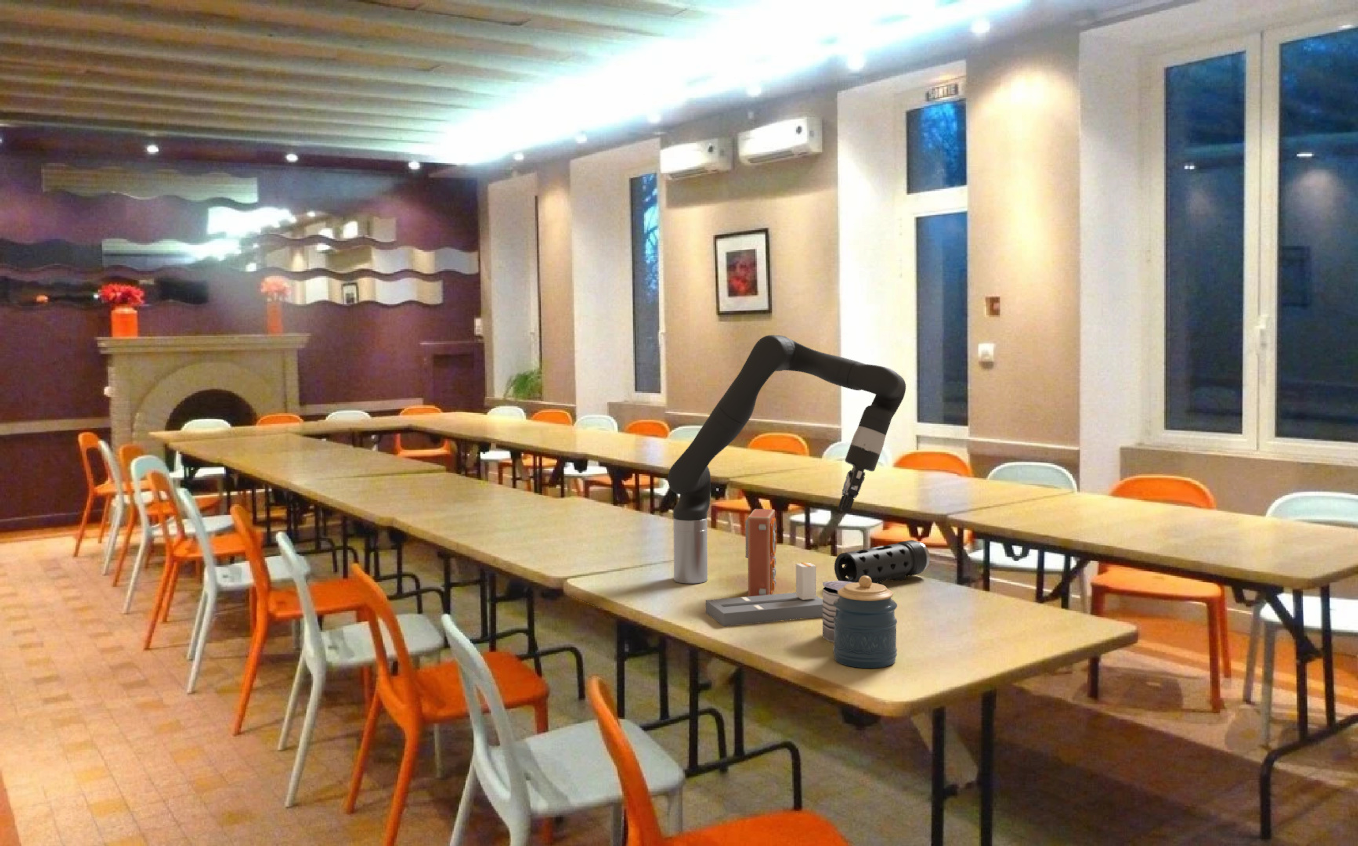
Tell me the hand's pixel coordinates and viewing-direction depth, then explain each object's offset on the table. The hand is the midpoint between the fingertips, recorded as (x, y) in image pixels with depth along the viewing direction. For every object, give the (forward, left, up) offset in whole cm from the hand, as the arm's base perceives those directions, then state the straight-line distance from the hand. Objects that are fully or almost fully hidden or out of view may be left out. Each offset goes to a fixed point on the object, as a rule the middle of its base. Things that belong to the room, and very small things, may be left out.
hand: (843, 511), depth 263 cm
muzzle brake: (-22, +23, -25) cm, 40 cm away
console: (-2, -19, -24) cm, 31 cm away
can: (+22, -9, -24) cm, 34 cm away
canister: (+38, -13, -24) cm, 47 cm away
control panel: (-20, -13, -24) cm, 34 cm away
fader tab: (-2, -9, -21) cm, 23 cm away
